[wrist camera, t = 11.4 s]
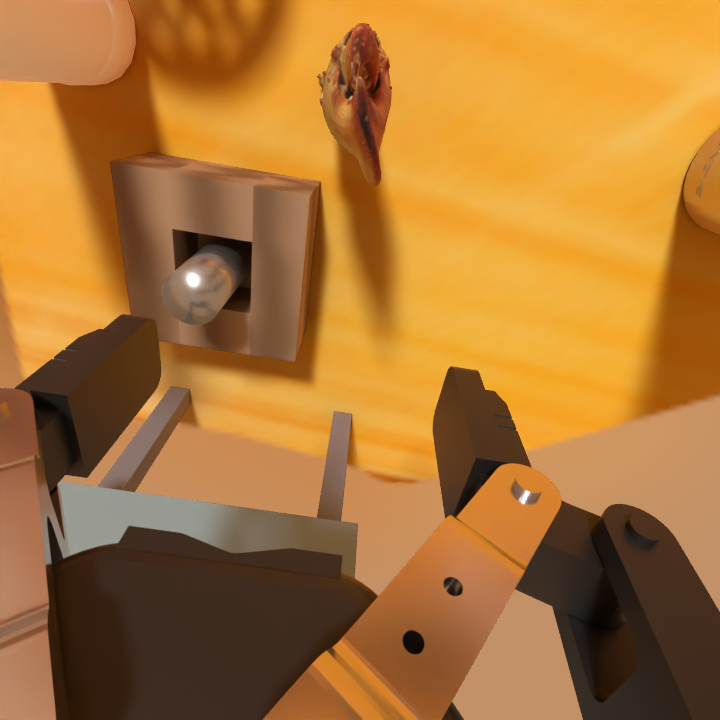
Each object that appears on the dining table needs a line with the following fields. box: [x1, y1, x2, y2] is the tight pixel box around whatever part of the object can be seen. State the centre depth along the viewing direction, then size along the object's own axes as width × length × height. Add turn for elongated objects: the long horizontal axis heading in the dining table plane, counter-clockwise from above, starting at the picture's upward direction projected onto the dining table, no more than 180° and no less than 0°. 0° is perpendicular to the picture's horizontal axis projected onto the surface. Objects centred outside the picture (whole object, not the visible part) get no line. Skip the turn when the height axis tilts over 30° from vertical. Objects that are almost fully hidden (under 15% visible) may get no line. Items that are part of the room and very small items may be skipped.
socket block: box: [110, 152, 320, 362], centre depth 37 cm, size 14×14×6 cm
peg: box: [161, 236, 252, 325], centre depth 34 cm, size 4×4×10 cm
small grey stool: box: [58, 387, 358, 579], centre depth 35 cm, size 21×11×26 cm, turn 81°
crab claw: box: [317, 23, 392, 186], centre depth 24 cm, size 7×5×20 cm
